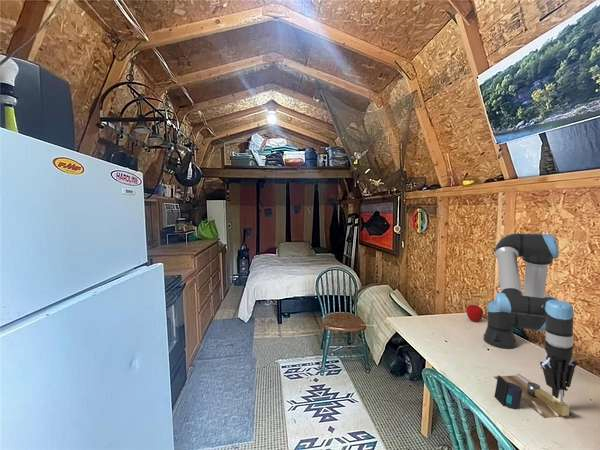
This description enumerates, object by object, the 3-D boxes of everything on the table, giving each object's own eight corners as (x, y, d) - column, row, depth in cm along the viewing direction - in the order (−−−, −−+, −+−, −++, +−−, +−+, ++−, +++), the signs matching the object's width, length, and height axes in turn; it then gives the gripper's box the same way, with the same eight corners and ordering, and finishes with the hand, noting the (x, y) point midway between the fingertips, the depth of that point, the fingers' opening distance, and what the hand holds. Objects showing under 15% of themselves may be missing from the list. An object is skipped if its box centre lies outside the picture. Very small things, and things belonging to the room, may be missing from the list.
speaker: (497, 408, 109) (500, 382, 108) (493, 399, 114) (496, 374, 113) (521, 415, 106) (525, 388, 105) (516, 406, 111) (520, 380, 110)
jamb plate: (518, 377, 128) (518, 373, 128) (575, 419, 103) (575, 414, 103) (493, 379, 127) (493, 375, 127) (544, 421, 102) (544, 416, 102)
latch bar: (524, 391, 116) (524, 380, 116) (534, 390, 116) (534, 380, 116) (559, 418, 101) (560, 406, 101) (570, 417, 101) (571, 405, 101)
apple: (469, 323, 186) (469, 307, 186) (463, 317, 196) (463, 302, 195) (486, 324, 185) (486, 307, 184) (479, 318, 194) (479, 302, 194)
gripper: (564, 337, 109) (563, 396, 110) (533, 340, 108) (533, 399, 109) (585, 346, 101) (584, 410, 103) (552, 350, 100) (552, 414, 102)
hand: (557, 404), depth 106 cm, fingers closed
